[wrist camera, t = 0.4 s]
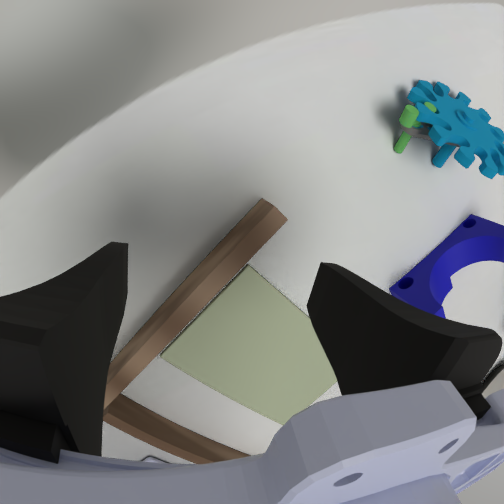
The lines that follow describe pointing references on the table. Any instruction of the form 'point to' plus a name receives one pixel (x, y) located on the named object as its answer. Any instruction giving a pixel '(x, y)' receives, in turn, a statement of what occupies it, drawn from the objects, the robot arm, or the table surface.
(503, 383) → the spread jar
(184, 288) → the corner walls
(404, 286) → the cable clip
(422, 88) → the gear
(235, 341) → the mat
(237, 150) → the table surface
